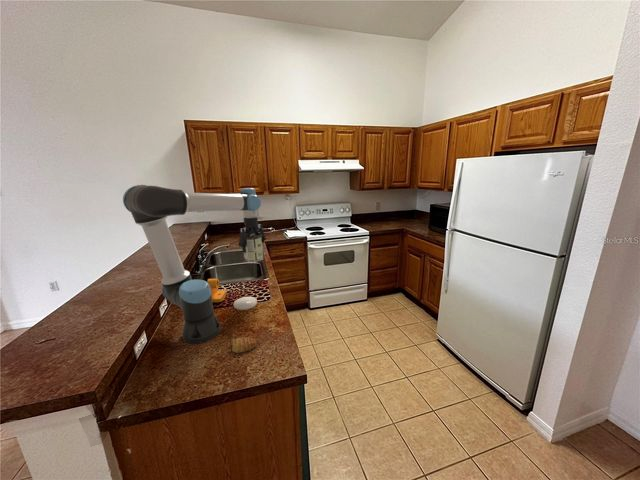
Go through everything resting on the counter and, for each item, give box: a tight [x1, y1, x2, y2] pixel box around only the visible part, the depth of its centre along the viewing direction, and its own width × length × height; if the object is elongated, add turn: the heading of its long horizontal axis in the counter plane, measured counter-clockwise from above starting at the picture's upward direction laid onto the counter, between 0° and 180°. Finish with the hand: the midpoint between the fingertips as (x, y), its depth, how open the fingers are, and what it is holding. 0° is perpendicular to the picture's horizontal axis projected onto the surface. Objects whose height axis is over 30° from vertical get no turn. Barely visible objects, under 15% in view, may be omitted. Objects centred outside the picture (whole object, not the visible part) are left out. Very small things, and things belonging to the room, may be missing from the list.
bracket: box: [206, 278, 228, 303], centre depth 143 cm, size 11×7×12 cm, turn 2°
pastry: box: [231, 337, 257, 354], centre depth 104 cm, size 9×7×4 cm
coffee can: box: [244, 233, 264, 263], centre depth 146 cm, size 10×10×14 cm
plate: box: [233, 296, 258, 311], centre depth 137 cm, size 12×12×1 cm
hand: (254, 255), depth 148 cm, fingers closed on coffee can, 10 cm apart
